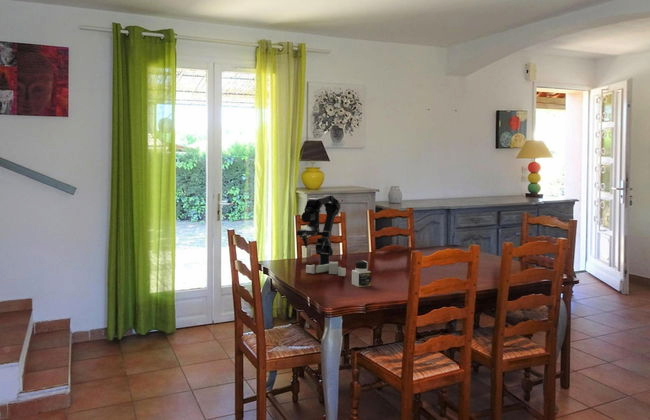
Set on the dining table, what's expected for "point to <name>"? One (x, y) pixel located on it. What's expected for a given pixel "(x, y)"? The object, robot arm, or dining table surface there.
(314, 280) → the dining table surface
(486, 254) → the dining table surface
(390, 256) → the dining table surface
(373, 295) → the dining table surface
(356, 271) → the medicine bottle
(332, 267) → the grey cube block
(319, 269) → the pale green curved bar
